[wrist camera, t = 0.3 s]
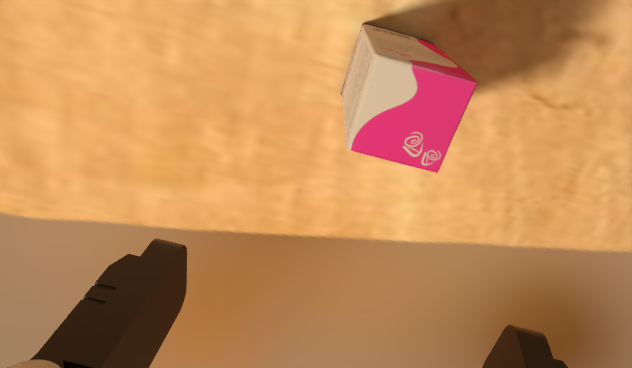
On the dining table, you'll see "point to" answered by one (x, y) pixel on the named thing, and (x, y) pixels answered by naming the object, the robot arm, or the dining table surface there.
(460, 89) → the supplement box
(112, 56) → the dining table surface
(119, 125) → the dining table surface
